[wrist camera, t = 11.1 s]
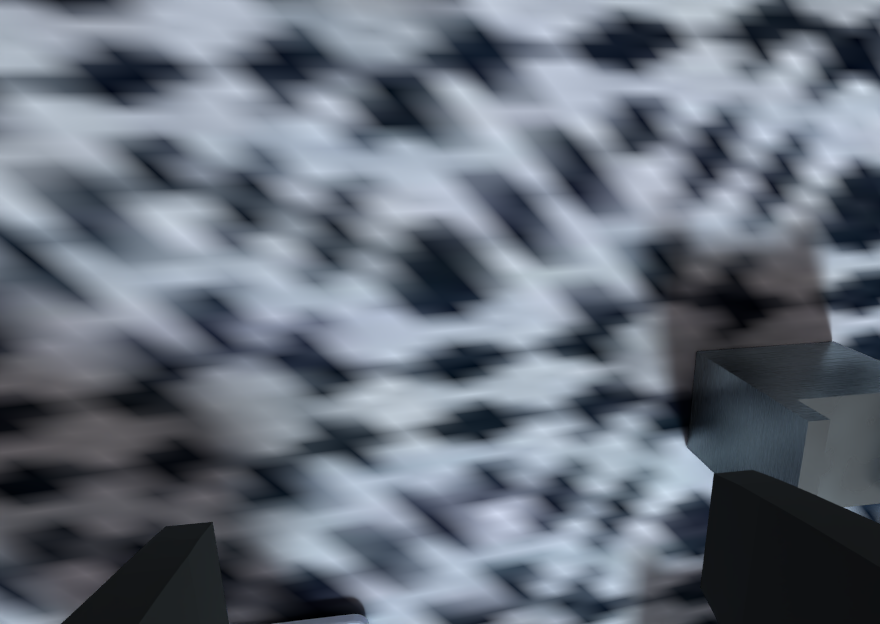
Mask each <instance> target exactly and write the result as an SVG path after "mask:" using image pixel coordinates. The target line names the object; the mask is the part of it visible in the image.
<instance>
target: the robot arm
mask: <svg viewBox="0 0 880 624" xmlns="http://www.w3.org/2000/svg"><path fill="white" fill-rule="evenodd" d="M700 588H701V590H702V592H703V594H704V596H705V598H706V600H707V601H708V603H709V605H710V607H711V609H712V611H713V613H714V615H715V617H716V619H717V621H718V622H719V624H880V524H879V523H876V522H874V521H872V520H870V519H868V518H865V517H863V516H861V515H859V514H857V513H854V512H852V511H850V510H848V509H845V508H843V507H841V506H839V505H837V504H834V503H832V502H830V501H828V500H826V499H823V498H821V497H819V496H817V495H814V494H812V493H810V492H807V491H805V490H803V489H800V488H798V487H796V486H794V485H791V484H789V483H786V482H784V481H781V480H779V479H776V478H774V477H771V476H769V475H766V474H763V473H760V472H757V471H755V470H745V471H735V472H724V473H714V478H713V486H712V494H711V503H710V511H709V519H708V527H707V536H706V544H705V552H704V561H703V569H702V577H701V586H700ZM61 624H229V621H228V615H227V609H226V602H225V596H224V590H223V584H222V577H221V571H220V565H219V559H218V552H217V546H216V540H215V533H214V527H213V522H208V523H197V524H187V525H177V526H166V527H165V528H164V529H163V530H161V531H160V532H159V533H158V534H157V535H156V536H155V537H153V538H152V539H151V540H150V541H149V542H148V543H147V544H146V545H145V546H144V547H143V548H141V549H140V550H139V551H138V552H137V553H136V554H135V555H134V556H133V557H132V558H131V559H130V560H129V561H128V562H127V563H126V564H125V565H123V566H122V567H121V568H120V569H119V570H118V571H117V572H116V573H115V574H114V575H113V576H112V577H111V578H110V579H109V580H108V581H107V582H106V583H104V584H103V585H102V586H101V587H100V588H99V589H98V590H97V591H96V592H95V593H94V594H93V595H92V596H91V597H90V598H88V599H87V600H86V601H85V602H84V603H83V604H82V605H81V606H80V607H79V608H78V609H77V610H76V611H74V612H73V613H72V614H71V615H70V616H69V617H68V618H67V619H66V620H65V621H64V622H63V623H61ZM273 624H369V622H368V620H367V619H366V618H365V617H364V616H363V615H360V614H349V615H341V616H332V617H324V618H315V619H307V620H298V621H290V622H281V623H273Z"/></svg>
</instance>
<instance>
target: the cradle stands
mask: <svg viewBox="0 0 880 624" xmlns="http://www.w3.org/2000/svg"><path fill="white" fill-rule="evenodd" d="M687 448H688V449H689V450H690V451H691V452H692V453H693V454H694V455H696V456H697V457H698V458H699V459H700V460H701V461H702V462H703V463H704V464H705V465H706V466H707V467H708V468H709V469H710V470H711V471H713V472H714V473H724V472H735V471H745V470H755V471H757V472H760V473H763V474H766V475H769V476H771V477H774V478H776V479H779V480H781V481H784V482H786V483H789V484H791V485H794V486H796V487H798V488H800V489H803V490H805V491H807V492H810V493H812V494H814V495H817V496H819V497H821V498H823V499H826V500H828V501H830V502H832V503H834V504H837V505H839V506H841V507H850V506H859V505H869V504H878V503H880V361H878V360H876V359H874V358H871V357H869V356H867V355H864V354H862V353H860V352H857V351H855V350H852V349H850V348H848V347H845V346H843V345H841V344H838V343H836V342H834V341H833V342H819V343H805V344H792V345H778V346H764V347H751V348H737V349H723V350H710V351H697V354H696V364H695V374H694V384H693V394H692V404H691V414H690V424H689V434H688V444H687Z"/></svg>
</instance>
